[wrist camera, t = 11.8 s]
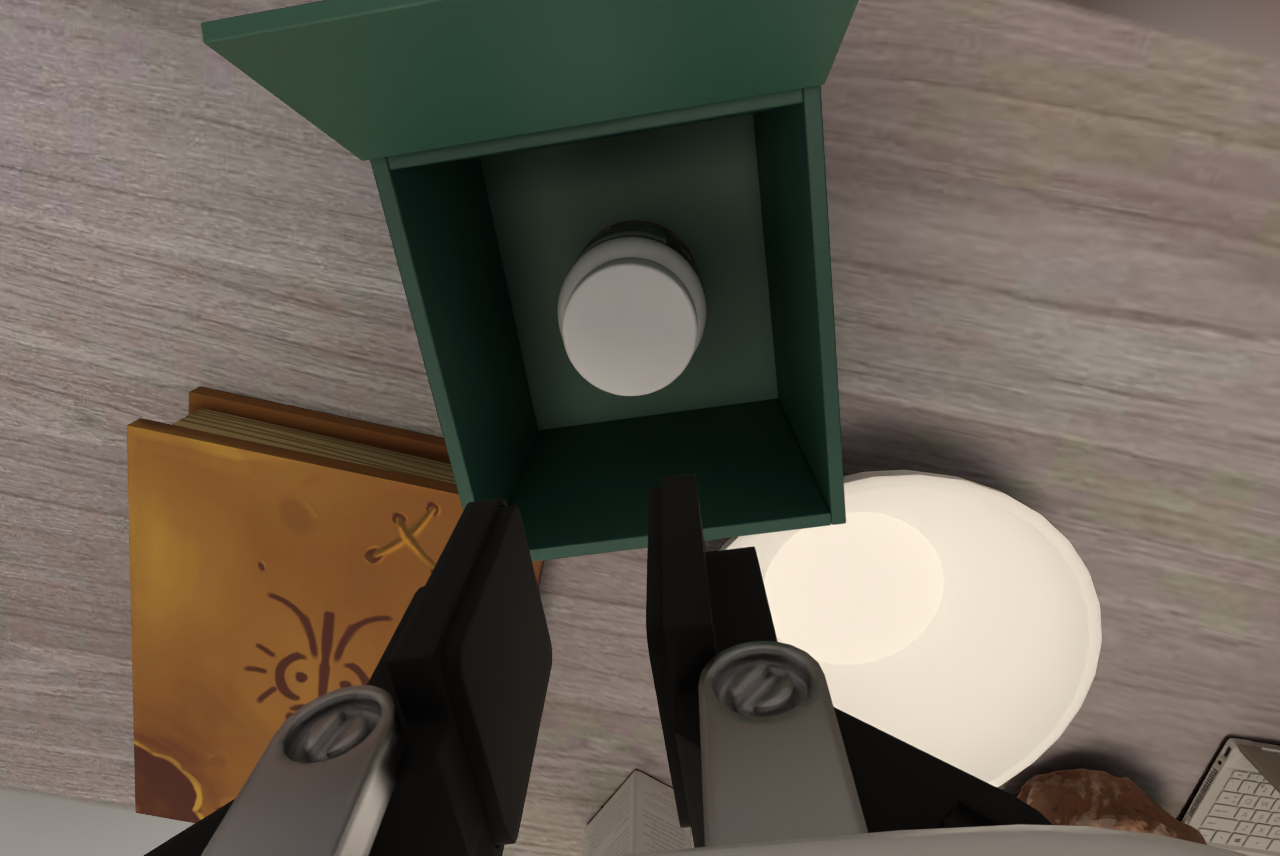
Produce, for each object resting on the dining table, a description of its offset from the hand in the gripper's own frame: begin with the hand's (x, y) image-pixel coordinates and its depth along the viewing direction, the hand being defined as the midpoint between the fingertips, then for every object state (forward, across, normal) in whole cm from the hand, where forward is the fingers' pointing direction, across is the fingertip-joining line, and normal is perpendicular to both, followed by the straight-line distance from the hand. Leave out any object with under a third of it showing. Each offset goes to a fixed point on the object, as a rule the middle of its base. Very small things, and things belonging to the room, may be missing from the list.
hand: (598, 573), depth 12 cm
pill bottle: (+25, 0, 0) cm, 25 cm away
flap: (+9, 0, -8) cm, 12 cm away
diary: (+25, +18, +16) cm, 35 cm away
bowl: (+25, -9, +18) cm, 32 cm away
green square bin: (+25, 0, 0) cm, 25 cm away
